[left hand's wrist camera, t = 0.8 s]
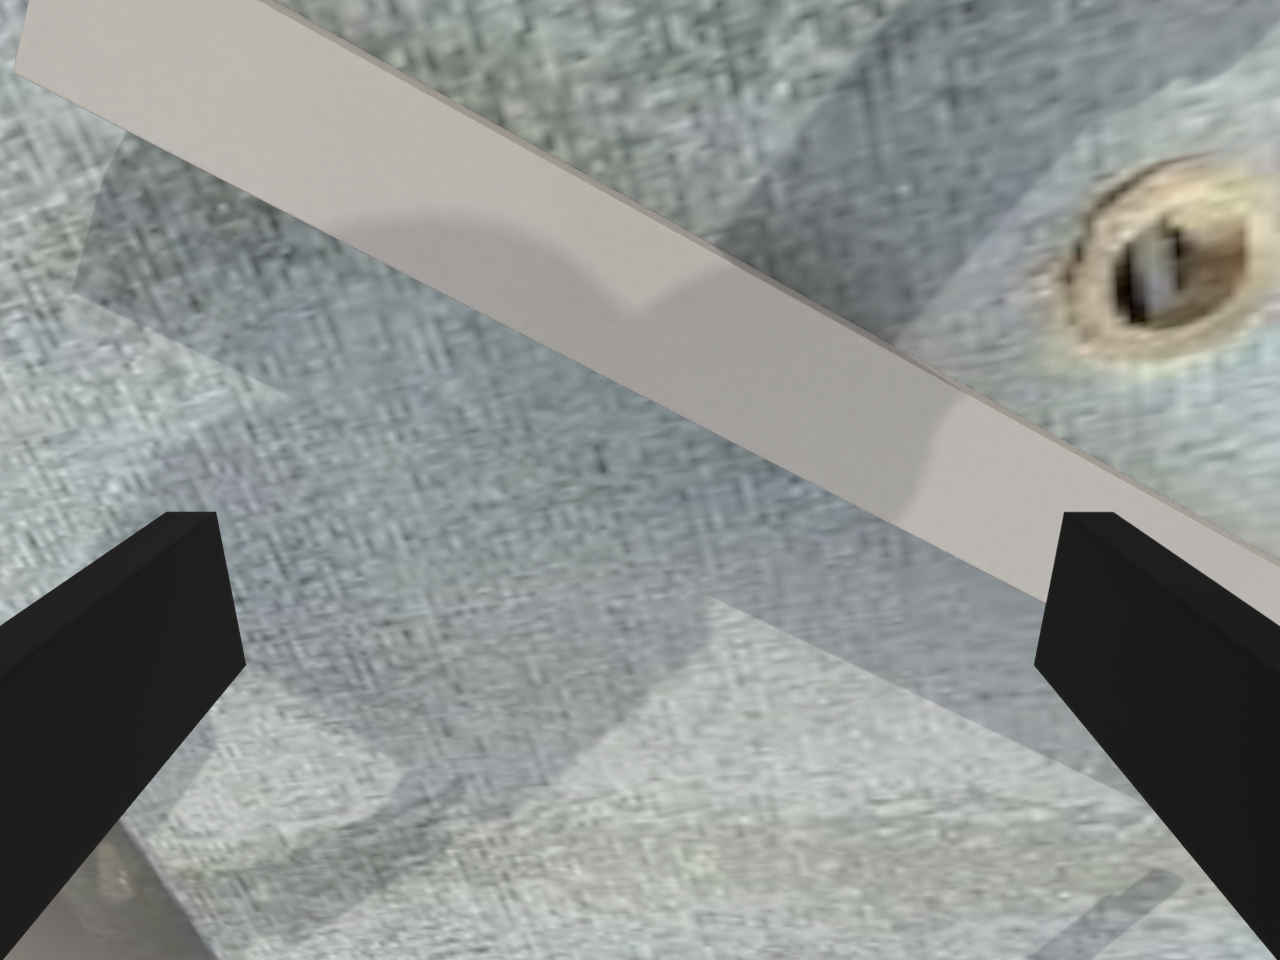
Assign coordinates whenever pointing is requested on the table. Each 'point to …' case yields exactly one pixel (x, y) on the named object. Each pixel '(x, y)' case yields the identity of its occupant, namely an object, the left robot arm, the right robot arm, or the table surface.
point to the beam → (597, 278)
